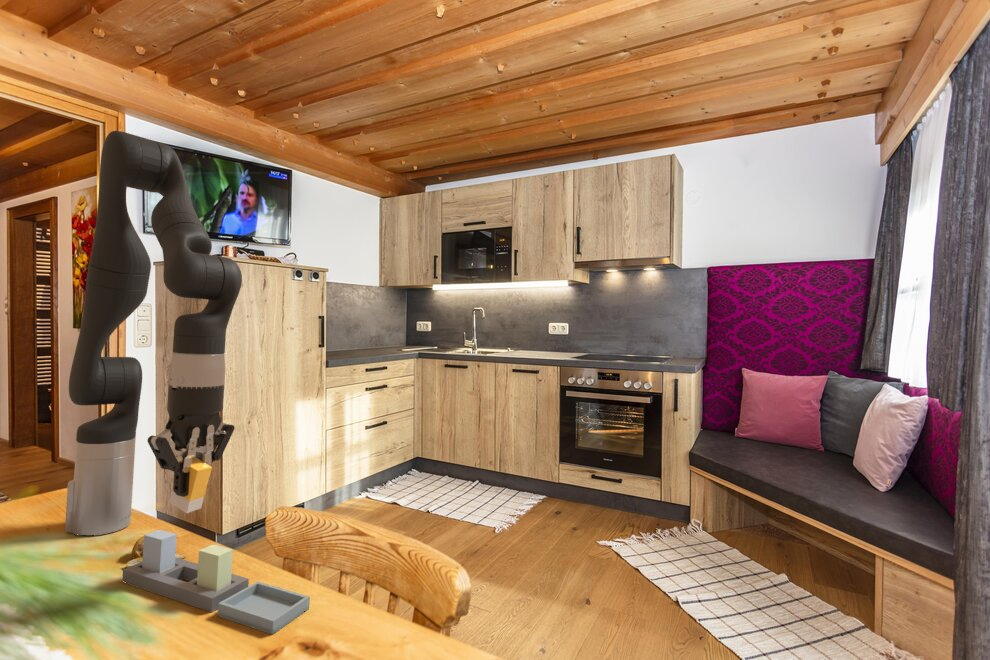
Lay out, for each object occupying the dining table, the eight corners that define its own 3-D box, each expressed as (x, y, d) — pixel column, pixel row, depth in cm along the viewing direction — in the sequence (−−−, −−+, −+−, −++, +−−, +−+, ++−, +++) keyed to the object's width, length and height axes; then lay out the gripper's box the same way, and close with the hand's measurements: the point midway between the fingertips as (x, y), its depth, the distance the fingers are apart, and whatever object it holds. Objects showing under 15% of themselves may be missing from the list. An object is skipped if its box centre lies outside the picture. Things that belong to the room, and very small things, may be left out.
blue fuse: (141, 579, 80) (144, 534, 80) (156, 572, 82) (159, 529, 82) (159, 584, 78) (161, 539, 79) (174, 577, 81) (176, 534, 81)
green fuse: (196, 597, 76) (198, 550, 76) (210, 589, 78) (213, 544, 78) (215, 603, 74) (218, 556, 74) (230, 595, 77) (232, 549, 77)
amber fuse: (168, 502, 78) (179, 460, 78) (183, 497, 81) (194, 457, 80) (186, 513, 77) (197, 470, 76) (201, 508, 79) (212, 467, 79)
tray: (217, 616, 71) (218, 603, 71) (256, 593, 78) (257, 581, 78) (272, 634, 68) (273, 621, 68) (309, 608, 74) (309, 596, 74)
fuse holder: (122, 582, 79) (122, 569, 79) (161, 565, 85) (162, 553, 85) (211, 612, 72) (212, 598, 72) (248, 591, 78) (248, 578, 78)
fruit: (128, 575, 81) (130, 552, 81) (118, 557, 87) (120, 535, 87) (187, 560, 87) (188, 539, 87) (174, 544, 93) (175, 524, 93)
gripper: (218, 376, 86) (211, 477, 86) (135, 383, 73) (128, 501, 73) (251, 381, 84) (244, 485, 84) (172, 388, 71) (164, 511, 71)
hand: (190, 492), depth 78 cm, fingers closed on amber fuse, 2 cm apart
